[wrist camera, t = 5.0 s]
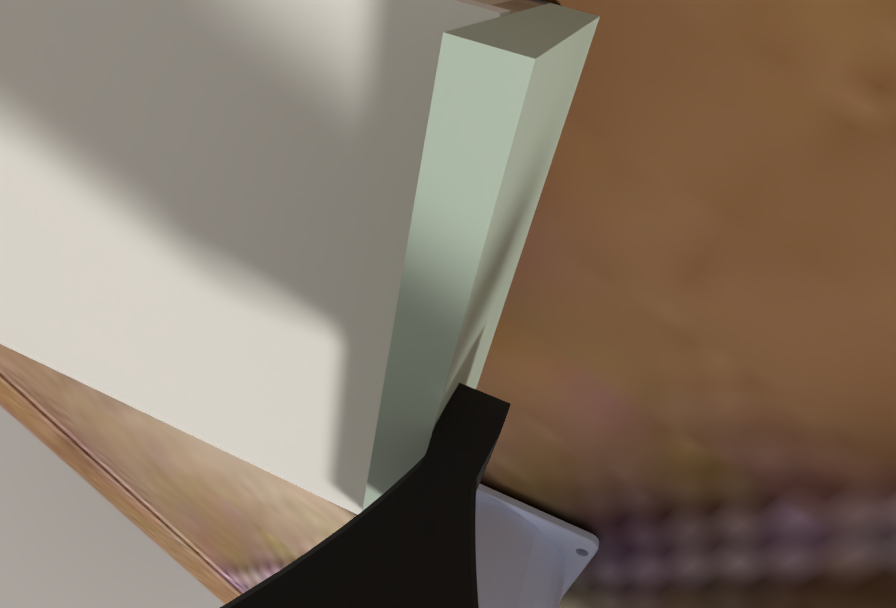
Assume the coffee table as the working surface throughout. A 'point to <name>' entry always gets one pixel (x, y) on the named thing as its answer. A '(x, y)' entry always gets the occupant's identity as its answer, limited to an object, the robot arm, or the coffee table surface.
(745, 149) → the coffee table surface
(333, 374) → the lid
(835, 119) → the coffee table surface
